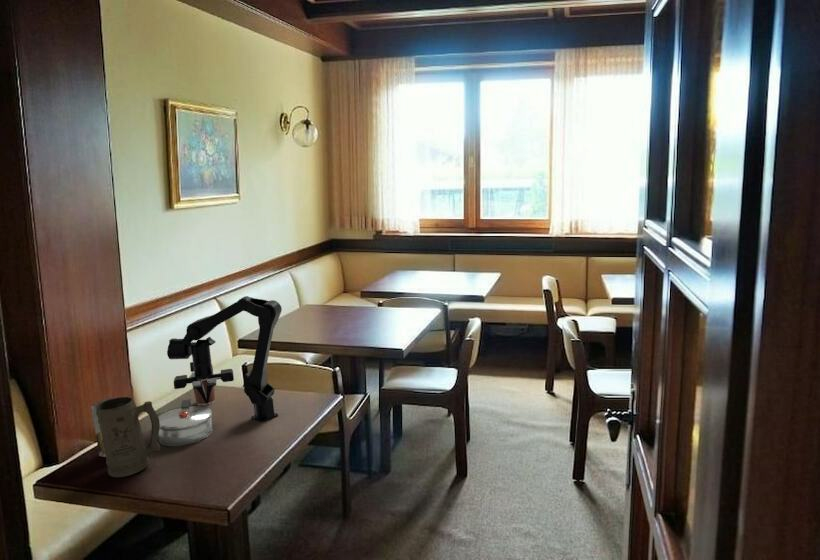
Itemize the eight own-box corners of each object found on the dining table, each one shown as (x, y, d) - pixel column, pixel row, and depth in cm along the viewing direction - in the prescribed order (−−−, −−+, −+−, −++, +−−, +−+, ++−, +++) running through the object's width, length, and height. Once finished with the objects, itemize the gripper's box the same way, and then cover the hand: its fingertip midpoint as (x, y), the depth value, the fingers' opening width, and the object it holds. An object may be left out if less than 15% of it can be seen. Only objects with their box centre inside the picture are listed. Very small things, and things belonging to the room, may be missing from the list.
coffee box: (137, 451, 192) (130, 399, 189) (120, 460, 186) (112, 407, 183) (115, 447, 196) (108, 396, 193) (97, 456, 190) (90, 404, 187)
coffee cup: (206, 408, 225) (202, 375, 223) (186, 405, 228) (182, 373, 226) (224, 399, 233) (220, 367, 231) (205, 396, 237) (201, 365, 235)
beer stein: (106, 482, 172) (95, 412, 169) (104, 467, 182) (94, 400, 178) (166, 467, 179) (157, 399, 176) (162, 454, 189) (153, 389, 185)
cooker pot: (222, 431, 202) (221, 416, 202) (177, 450, 190) (175, 434, 189) (183, 417, 217) (181, 403, 216) (138, 434, 204) (136, 419, 204)
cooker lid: (211, 424, 195) (210, 417, 194) (153, 434, 190) (152, 426, 190) (212, 399, 217) (211, 393, 217) (160, 407, 213) (159, 400, 212)
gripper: (230, 348, 221) (235, 391, 224) (173, 355, 216) (179, 399, 219) (231, 356, 211) (236, 402, 213) (171, 364, 206) (177, 410, 208)
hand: (207, 403), depth 214 cm, fingers closed
